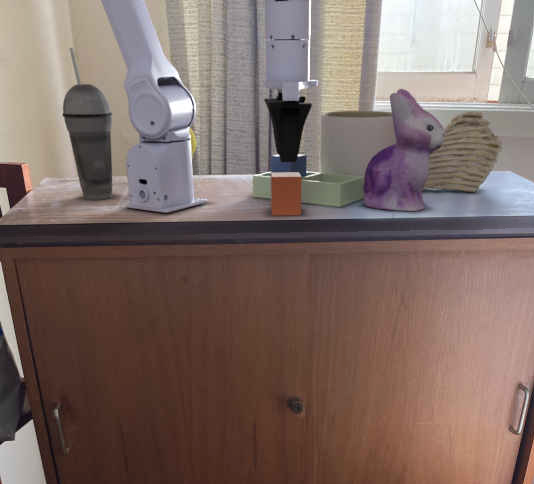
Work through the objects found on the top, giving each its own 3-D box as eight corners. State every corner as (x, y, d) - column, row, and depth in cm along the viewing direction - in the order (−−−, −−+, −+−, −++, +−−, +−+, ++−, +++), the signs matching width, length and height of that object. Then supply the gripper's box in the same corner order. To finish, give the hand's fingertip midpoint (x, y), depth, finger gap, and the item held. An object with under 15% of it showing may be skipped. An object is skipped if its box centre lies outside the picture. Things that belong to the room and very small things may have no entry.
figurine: (438, 212, 97) (453, 90, 89) (366, 212, 97) (375, 91, 89) (425, 199, 105) (438, 87, 97) (359, 199, 105) (366, 87, 97)
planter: (329, 196, 107) (333, 118, 101) (310, 183, 118) (312, 111, 112) (404, 192, 109) (412, 116, 103) (379, 180, 120) (384, 110, 114)
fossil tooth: (403, 194, 115) (494, 185, 114) (410, 199, 109) (505, 189, 108) (403, 117, 109) (498, 107, 108) (410, 119, 104) (510, 108, 103)
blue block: (291, 193, 105) (291, 157, 103) (270, 190, 107) (270, 155, 105) (306, 189, 108) (306, 154, 105) (285, 186, 110) (285, 152, 107)
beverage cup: (110, 202, 104) (92, 47, 93) (66, 200, 105) (43, 47, 95) (128, 193, 110) (112, 47, 99) (86, 192, 111) (66, 47, 101)
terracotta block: (300, 215, 95) (301, 176, 93) (272, 215, 95) (272, 177, 93) (298, 209, 99) (299, 172, 96) (270, 209, 99) (270, 172, 96)
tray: (364, 198, 106) (365, 176, 104) (339, 207, 100) (340, 184, 98) (280, 189, 113) (280, 168, 111) (252, 196, 107) (252, 175, 106)
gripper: (325, 39, 80) (321, 165, 88) (313, 40, 93) (310, 150, 100) (265, 40, 80) (266, 165, 87) (261, 41, 92) (262, 151, 100)
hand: (286, 157), depth 94 cm, fingers open, 7 cm apart
